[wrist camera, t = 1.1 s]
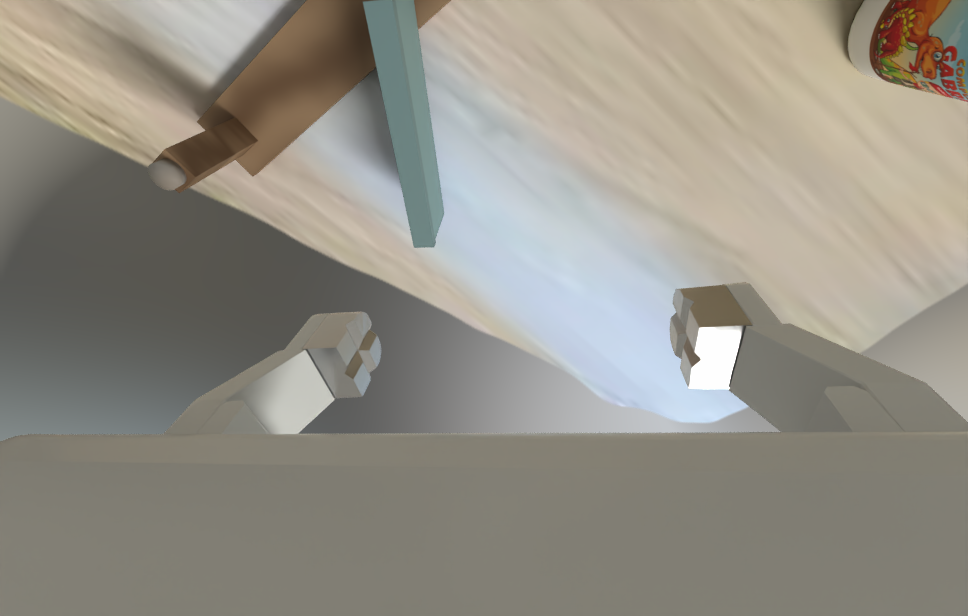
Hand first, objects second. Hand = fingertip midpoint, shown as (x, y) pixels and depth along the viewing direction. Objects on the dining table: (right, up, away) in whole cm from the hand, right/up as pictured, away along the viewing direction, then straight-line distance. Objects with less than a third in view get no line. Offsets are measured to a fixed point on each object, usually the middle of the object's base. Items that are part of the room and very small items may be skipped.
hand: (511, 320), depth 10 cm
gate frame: (-14, +21, +22) cm, 33 cm away
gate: (-6, +17, +23) cm, 29 cm away
